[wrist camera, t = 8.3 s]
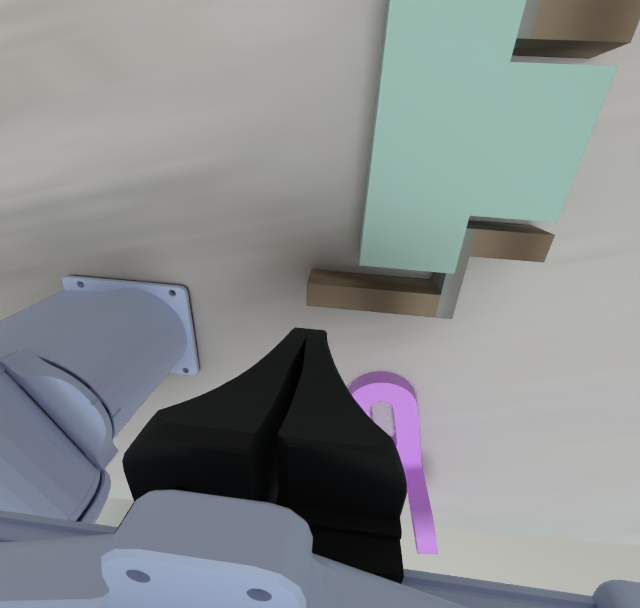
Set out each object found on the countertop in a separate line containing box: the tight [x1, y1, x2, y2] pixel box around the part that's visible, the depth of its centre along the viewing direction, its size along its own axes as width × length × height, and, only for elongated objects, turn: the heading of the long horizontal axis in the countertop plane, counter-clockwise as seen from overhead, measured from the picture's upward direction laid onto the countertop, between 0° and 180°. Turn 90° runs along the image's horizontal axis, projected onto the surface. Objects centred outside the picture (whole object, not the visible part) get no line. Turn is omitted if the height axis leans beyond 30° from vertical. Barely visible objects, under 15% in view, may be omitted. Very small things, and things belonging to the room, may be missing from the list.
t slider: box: [359, 0, 617, 274], centre depth 16 cm, size 9×12×4 cm
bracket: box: [348, 372, 438, 554], centre depth 24 cm, size 13×6×7 cm, turn 10°
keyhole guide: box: [307, 0, 640, 319], centre depth 16 cm, size 13×19×2 cm
